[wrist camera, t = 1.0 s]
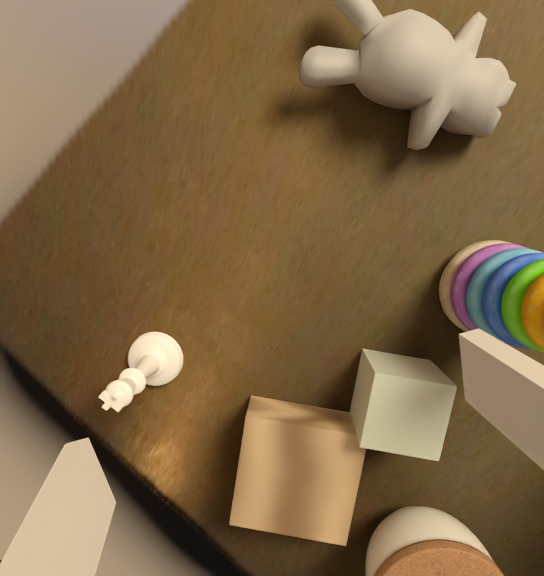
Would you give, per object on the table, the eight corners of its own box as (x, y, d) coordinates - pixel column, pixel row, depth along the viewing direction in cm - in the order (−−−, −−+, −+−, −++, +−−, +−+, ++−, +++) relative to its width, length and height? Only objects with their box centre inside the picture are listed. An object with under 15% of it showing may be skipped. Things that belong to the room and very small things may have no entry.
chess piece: (162, 394, 37) (114, 454, 28) (119, 361, 37) (55, 410, 27) (194, 354, 37) (156, 402, 27) (150, 320, 36) (96, 356, 27)
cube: (430, 359, 36) (457, 386, 30) (415, 423, 37) (438, 461, 31) (362, 348, 36) (375, 372, 30) (349, 411, 37) (359, 447, 31)
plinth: (360, 414, 37) (368, 437, 33) (340, 512, 38) (346, 546, 34) (251, 395, 37) (245, 415, 33) (235, 494, 39) (229, 524, 35)
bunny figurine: (485, 168, 29) (294, 78, 27) (451, 174, 34) (287, 98, 32) (551, 35, 28) (353, -70, 26) (505, 61, 33) (336, -26, 31)
